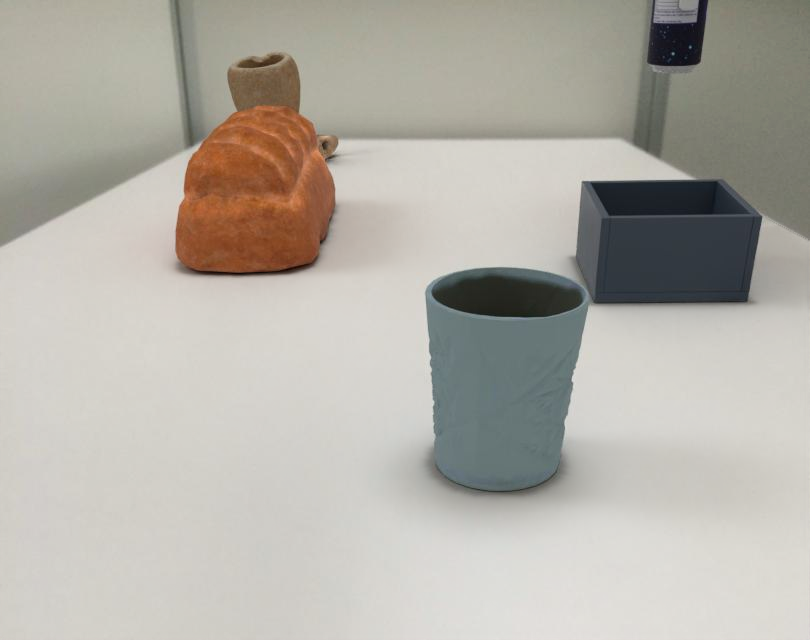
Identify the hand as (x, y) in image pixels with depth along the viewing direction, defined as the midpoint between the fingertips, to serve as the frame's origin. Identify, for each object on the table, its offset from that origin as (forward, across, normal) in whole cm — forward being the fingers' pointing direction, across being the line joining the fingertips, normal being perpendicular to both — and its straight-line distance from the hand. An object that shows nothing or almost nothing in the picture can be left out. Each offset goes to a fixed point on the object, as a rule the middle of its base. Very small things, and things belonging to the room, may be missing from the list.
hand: (680, 7), depth 102 cm
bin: (+23, -19, +3) cm, 30 cm away
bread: (+23, -2, +46) cm, 52 cm away
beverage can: (+6, 0, 0) cm, 6 cm away
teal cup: (+23, -58, +21) cm, 66 cm away
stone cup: (+23, +38, +50) cm, 67 cm away
